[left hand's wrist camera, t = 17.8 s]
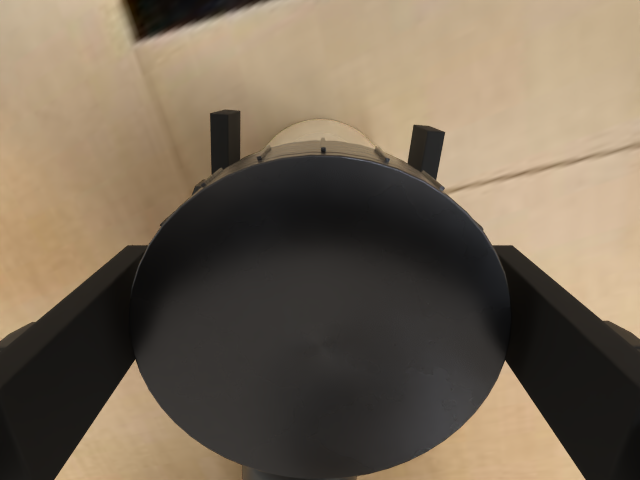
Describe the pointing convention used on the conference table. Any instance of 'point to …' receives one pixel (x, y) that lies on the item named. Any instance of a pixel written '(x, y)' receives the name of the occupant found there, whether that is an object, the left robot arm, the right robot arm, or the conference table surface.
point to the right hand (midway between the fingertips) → (327, 120)
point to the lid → (320, 312)
